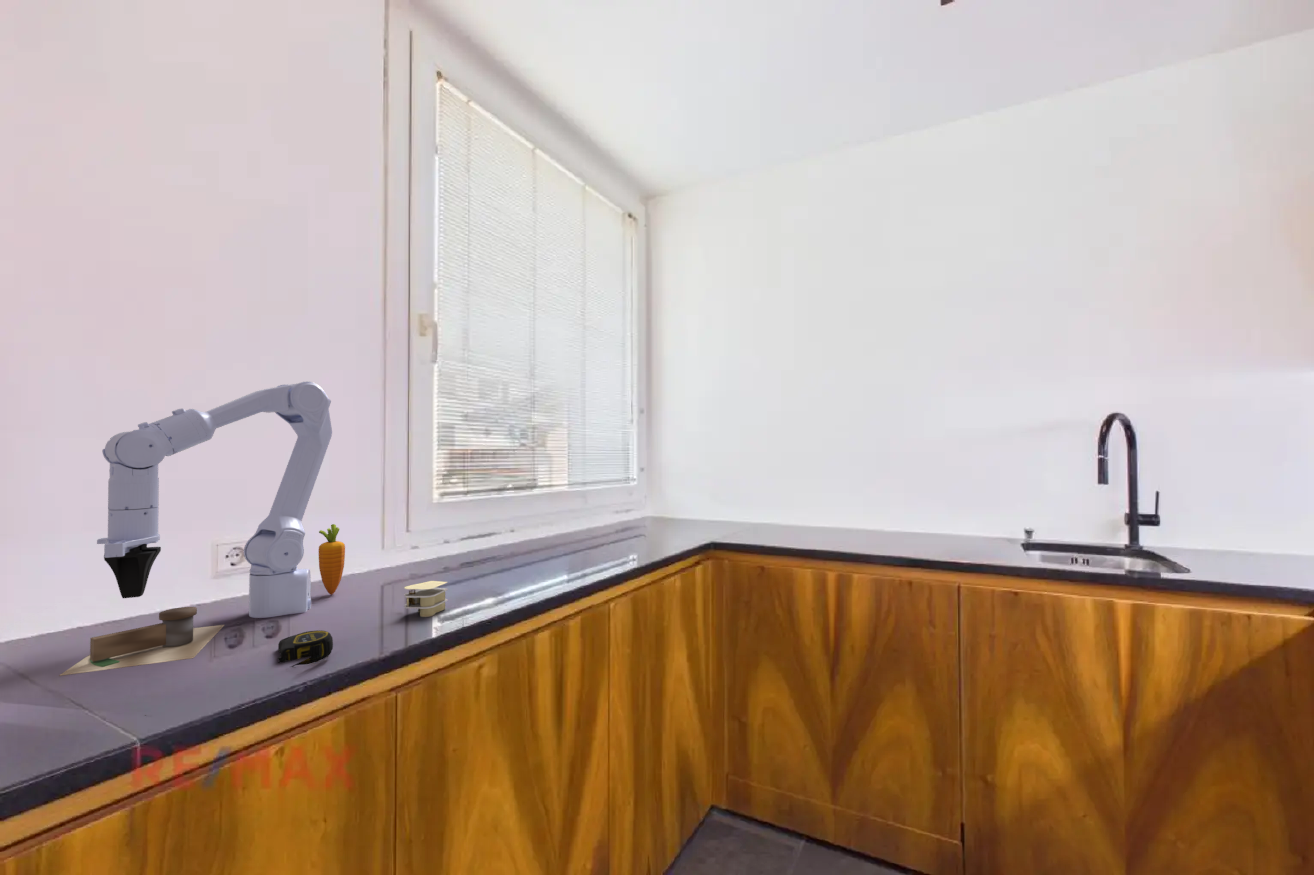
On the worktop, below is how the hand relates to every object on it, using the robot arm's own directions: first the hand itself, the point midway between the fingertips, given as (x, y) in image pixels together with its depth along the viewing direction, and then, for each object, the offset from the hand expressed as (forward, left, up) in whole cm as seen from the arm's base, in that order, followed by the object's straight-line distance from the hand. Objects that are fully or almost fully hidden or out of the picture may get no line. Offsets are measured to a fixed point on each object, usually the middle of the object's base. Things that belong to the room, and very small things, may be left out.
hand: (132, 596), depth 86 cm
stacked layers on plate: (-42, -3, -9) cm, 43 cm away
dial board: (-4, +4, -8) cm, 10 cm away
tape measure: (-24, +17, -9) cm, 31 cm away
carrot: (-25, -26, -9) cm, 37 cm away
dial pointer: (-4, +6, -7) cm, 10 cm away
